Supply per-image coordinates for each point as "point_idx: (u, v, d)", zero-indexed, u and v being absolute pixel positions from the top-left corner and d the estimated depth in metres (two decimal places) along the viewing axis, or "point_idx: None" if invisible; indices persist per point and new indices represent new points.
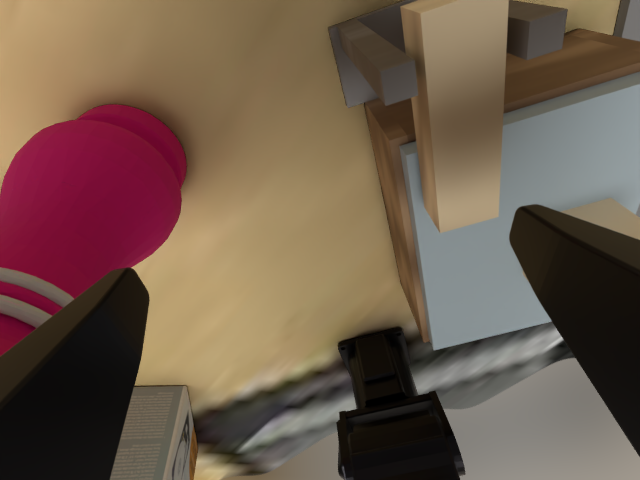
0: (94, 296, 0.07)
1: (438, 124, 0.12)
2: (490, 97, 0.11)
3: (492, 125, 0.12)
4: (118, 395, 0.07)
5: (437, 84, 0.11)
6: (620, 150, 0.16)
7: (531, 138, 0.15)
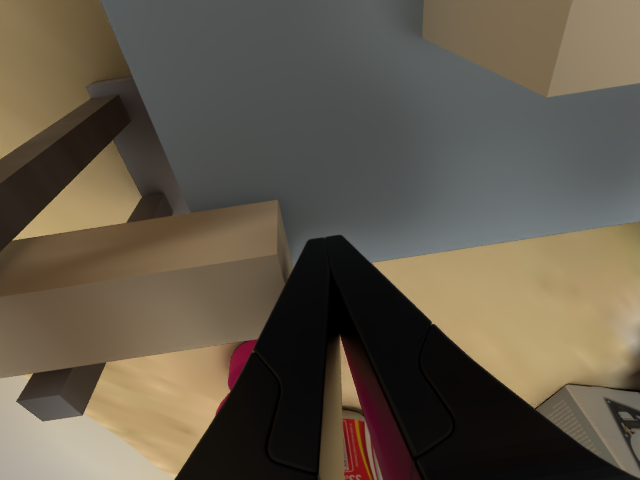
0: (316, 262, 0.07)
1: (91, 357, 0.08)
2: (28, 310, 0.07)
3: (73, 300, 0.07)
4: (339, 361, 0.07)
5: (33, 364, 0.08)
6: None
7: (190, 91, 0.07)
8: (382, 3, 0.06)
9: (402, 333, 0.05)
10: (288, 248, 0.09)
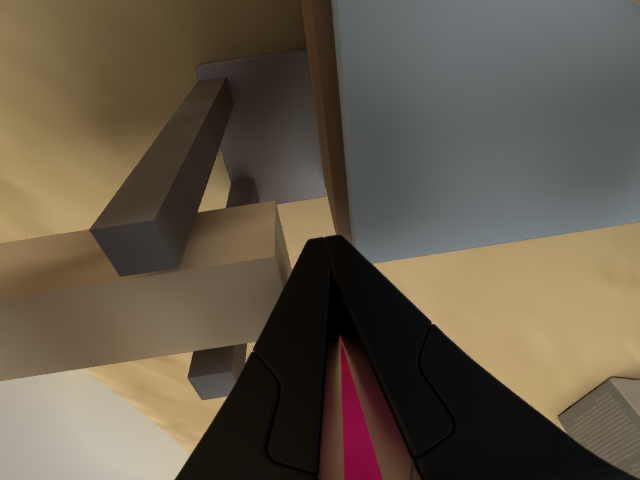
0: (316, 262, 0.07)
1: (86, 360, 0.08)
2: (22, 313, 0.07)
3: (67, 303, 0.07)
4: (339, 361, 0.07)
5: (27, 368, 0.08)
6: None
7: (392, 58, 0.07)
8: None
9: (402, 333, 0.05)
10: (286, 249, 0.09)
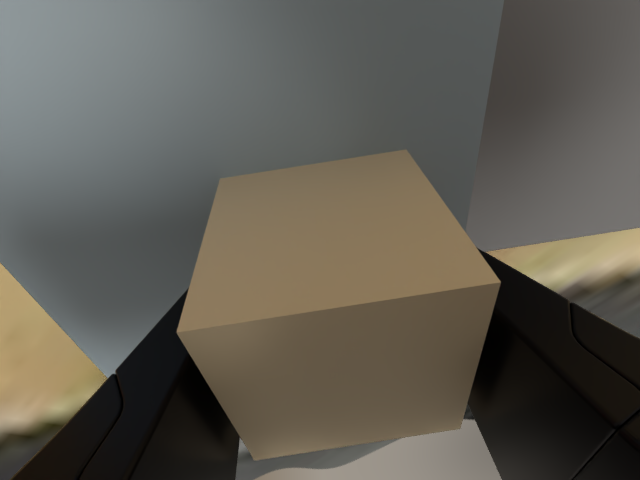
0: None
1: None
2: None
3: None
4: None
5: None
6: None
7: None
8: (241, 139, 0.07)
9: (544, 311, 0.05)
10: None
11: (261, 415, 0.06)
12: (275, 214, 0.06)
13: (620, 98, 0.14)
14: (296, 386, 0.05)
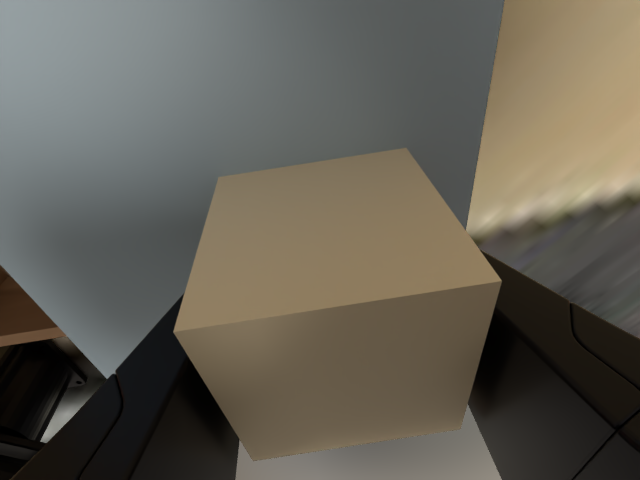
0: None
1: None
2: None
3: None
4: None
5: None
6: None
7: None
8: (239, 137, 0.07)
9: (544, 311, 0.05)
10: None
11: (260, 416, 0.06)
12: (274, 212, 0.06)
13: None
14: (295, 386, 0.05)
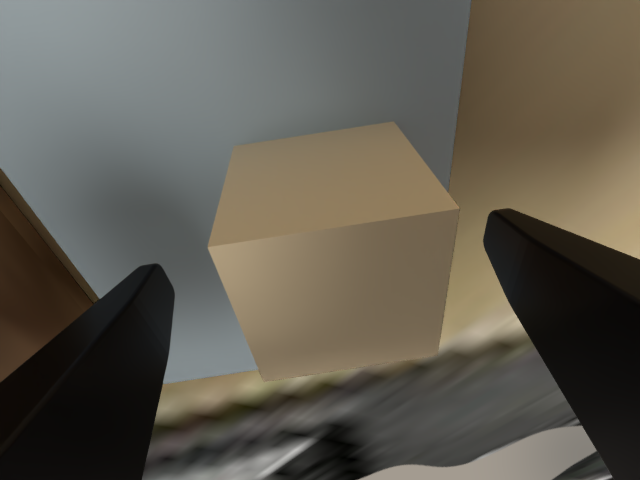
0: (125, 291, 0.07)
1: None
2: None
3: None
4: (149, 390, 0.07)
5: None
6: None
7: None
8: (252, 111, 0.08)
9: None
10: None
11: (270, 334, 0.07)
12: (282, 170, 0.07)
13: None
14: (300, 304, 0.06)
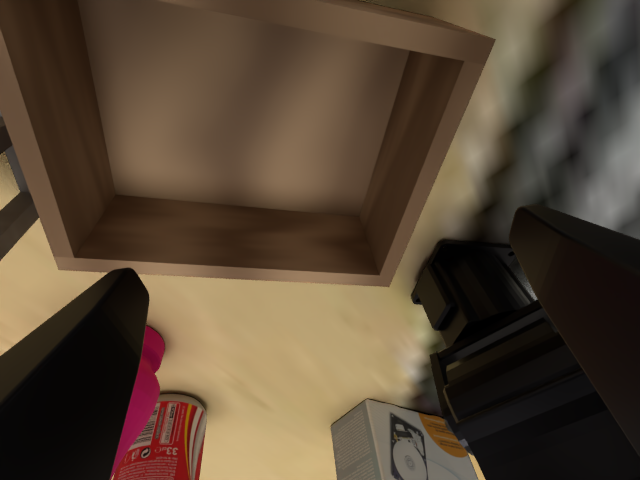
0: (94, 296, 0.07)
1: None
2: None
3: None
4: (118, 395, 0.07)
5: None
6: None
7: None
8: None
9: None
10: None
11: None
12: None
13: None
14: None
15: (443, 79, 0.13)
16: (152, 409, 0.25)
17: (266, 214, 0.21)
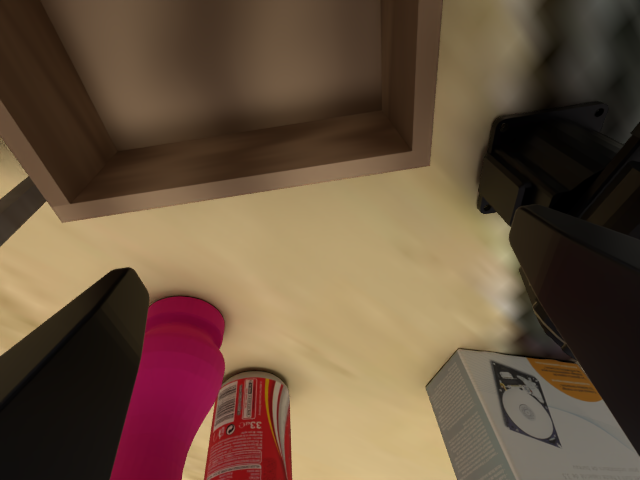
0: (94, 296, 0.07)
1: None
2: None
3: None
4: (118, 395, 0.07)
5: None
6: None
7: None
8: None
9: None
10: None
11: None
12: None
13: None
14: None
15: None
16: (218, 378, 0.24)
17: (272, 131, 0.18)
